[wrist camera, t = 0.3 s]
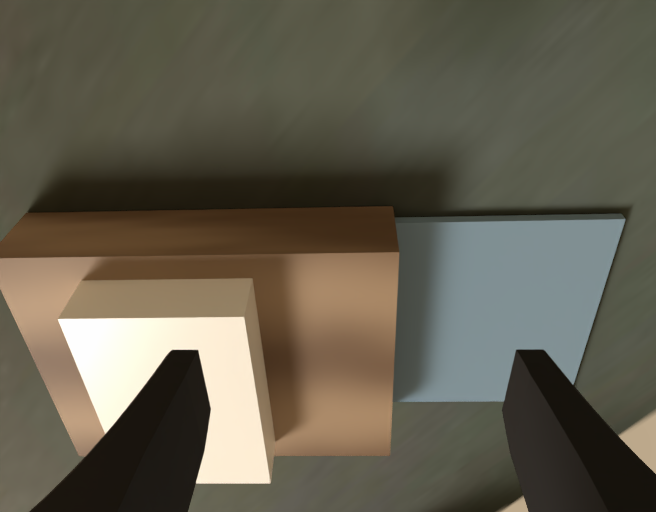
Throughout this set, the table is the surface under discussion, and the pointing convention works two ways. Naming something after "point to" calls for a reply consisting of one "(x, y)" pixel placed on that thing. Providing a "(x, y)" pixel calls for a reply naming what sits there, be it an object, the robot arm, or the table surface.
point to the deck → (271, 301)
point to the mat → (494, 298)
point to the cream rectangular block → (179, 334)
